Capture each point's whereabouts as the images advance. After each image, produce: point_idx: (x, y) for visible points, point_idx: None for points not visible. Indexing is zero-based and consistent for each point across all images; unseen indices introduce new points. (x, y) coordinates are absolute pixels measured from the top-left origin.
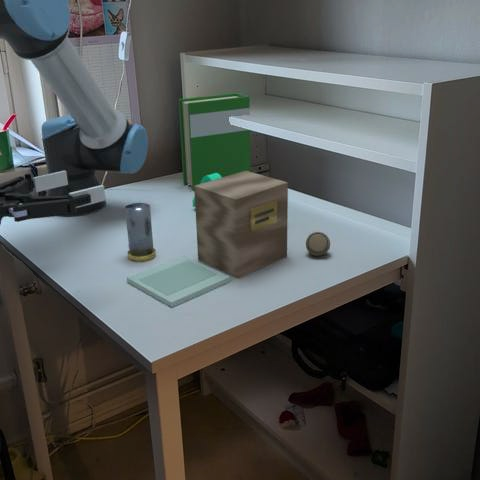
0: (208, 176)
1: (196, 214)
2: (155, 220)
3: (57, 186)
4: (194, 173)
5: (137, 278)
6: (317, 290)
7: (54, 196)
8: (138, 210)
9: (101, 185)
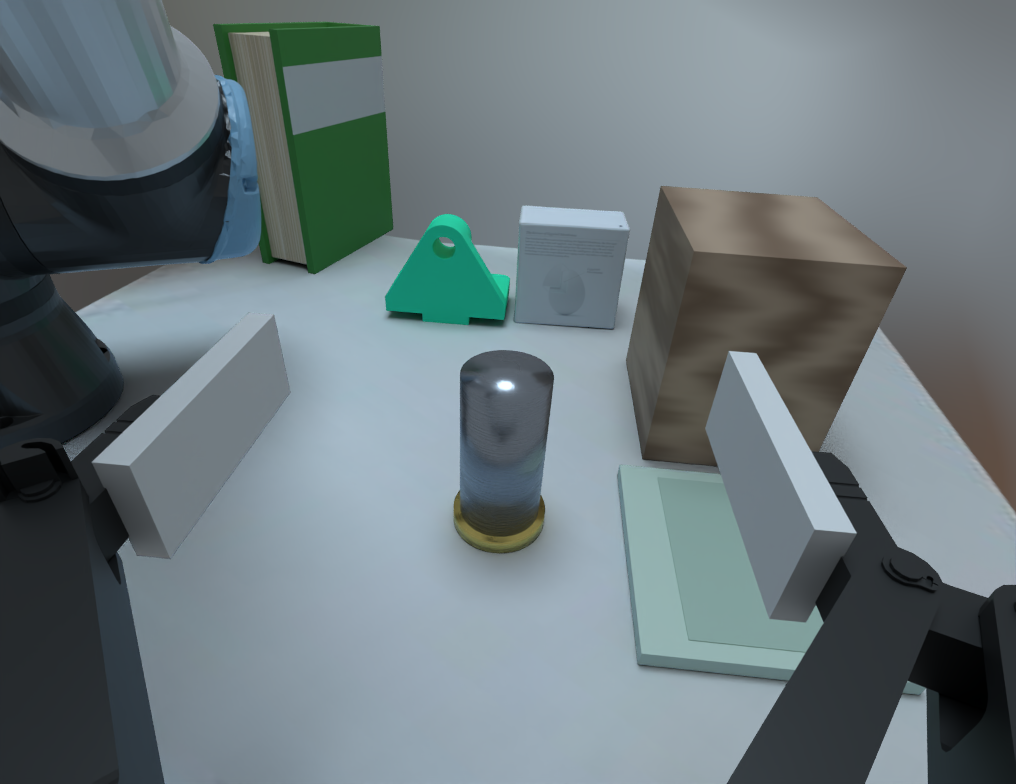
0: (447, 225)
1: (675, 341)
2: (343, 376)
3: (257, 432)
4: (310, 229)
5: (675, 635)
6: (953, 433)
7: (835, 657)
8: (543, 389)
9: (740, 355)
